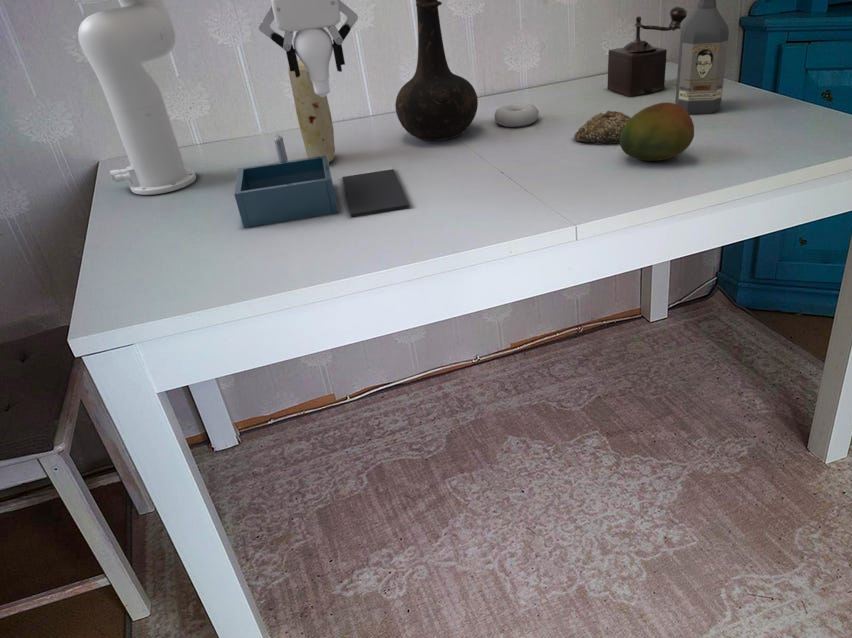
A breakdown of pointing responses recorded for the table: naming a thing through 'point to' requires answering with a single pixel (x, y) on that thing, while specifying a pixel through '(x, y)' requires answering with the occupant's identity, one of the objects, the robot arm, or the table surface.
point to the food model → (312, 116)
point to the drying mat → (374, 193)
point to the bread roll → (603, 128)
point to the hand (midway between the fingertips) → (318, 71)
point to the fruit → (657, 132)
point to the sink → (285, 189)
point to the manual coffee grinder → (641, 61)
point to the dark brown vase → (434, 86)
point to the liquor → (702, 60)
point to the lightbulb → (315, 56)
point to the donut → (516, 114)
